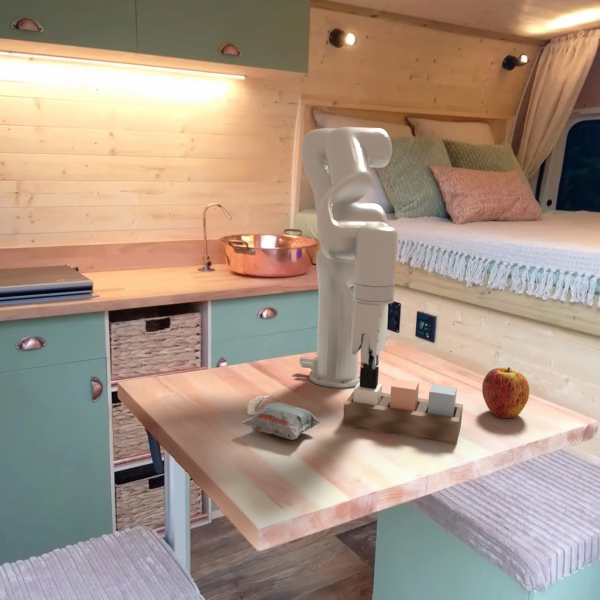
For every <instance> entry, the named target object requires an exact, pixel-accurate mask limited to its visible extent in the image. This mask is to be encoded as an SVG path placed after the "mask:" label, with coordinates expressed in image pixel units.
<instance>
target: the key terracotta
mask: <svg viewBox="0 0 600 600" xmlns="http://www.w3.org/2000/svg"><path fill="white" fill-rule="evenodd" d="M419 387H420V382H419V381H415V380H414V381H413V380H407V379H400V378H395V379H394V380H393V382H392V384H391V386H390V394H391V395H390V407H391V408H397V409H404V410H410V411H416V409H417V403H418V398H419V391H420V390H419Z"/></svg>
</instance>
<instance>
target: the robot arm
mask: <svg viewBox="0 0 600 600" xmlns="http://www.w3.org/2000/svg"><path fill="white" fill-rule="evenodd" d="M392 154H393V145H392V140H391V137H390V135H389V134H388V132H387V131H386V130H385V129H382V128H379V127H361V126H359V127H358V126H342V127H336V128H334V127H325V128H324V127H323V128H322V127H321V128H315V129H312V130H309V131H307V132H306V133H305V134H304V136H303V138H302V142H301V160H302V166H303V169H304V172H305V176H306V179H307V180H308V183H309V184H310V187H311V190H312V192H313V197H314V207H315V214H316V227H317V233H318V240H319V241H318V242H319V245H320V249H318V252H317V253H316V257H315V266H316V267H315V268H316V275H317V286H318V287H317V288H318V309H317V311H318V314H317V315H318V317H317V337H316V338H317V341H316V342H317V343H316V357H315V356H314V357H313V358H311V357H307V356H300V357H299V365H300V367H301V368H305V369H310V371H309V380H310V381H311V382H312V383H313V384H316V385H319V386H322V387H326V388H327V387H328V388H336V389H337V388H338V389H343V388H344V389H346V388H353V387H356V385H357V384H358V383H359V381H360V387H364V388H371V389H376V387H377V386H378V384H379V370H380V367H379V365H380V363H379V362H380V353H381V351H383V349H384V347H385V346H386V343H387V334H388V321H389V320H388V316H389V304H393V303H394V302H395V301H394V299H395V288H396V287H395V286H396V285H395V282H396V267H397V254H398V253H397V252H398V251H397V250H398V231H397V230H396V229H395V227H392V226H390V225H389V222H388V218H387V214H386V211H385V210H384V208H383V207H382V206H381V205H380V204H377V203H373V202H358V201H361V200H362V199H365V198H366V196H368V194H370V192H371V191H372V189H373V185H374V179H373V176H372V172H371V168H375V169H377V168H378V169H379V168H380V169H381V168H386V166H387V165H388V164H389V163H390V161H391V158H392V156H393V155H392ZM351 287H353V292H352V290H351ZM359 352H360V369H359V368H358V367H359V366H358V365H359ZM358 369H359V370H358Z"/></svg>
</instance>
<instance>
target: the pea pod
mask: <svg viewBox="0 0 600 600" xmlns="http://www.w3.org/2000/svg"><path fill="white" fill-rule="evenodd" d="M268 397H271V395H269V394H268V395H262V396H261V395H257V396H256V397H253V398H252V399H251V400H250V401H249V402H247V406H246V409H247V411H246V412H247V415H249V416H253V415H254V414H255V413H256V412H257V411H259V409H257V411H256V407H258V408H260V406H261V405H262V403H263V398H264V400H266V399H267V398H268ZM260 402H261V403H260ZM258 404H259V406H258Z"/></svg>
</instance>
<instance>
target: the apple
mask: <svg viewBox="0 0 600 600" xmlns="http://www.w3.org/2000/svg"><path fill="white" fill-rule="evenodd" d="M481 390H482V391H481V392H482V398H483V400H484V403H485V404H486V406H487V408H488V410H489V411H490V412H491V413H492V414H493V415H495V416H496V417H498V418H501V419H513V418H516V417H517V416H519V415H520V414H521V413H522V411H523V410H524V408H525V407H526V405H527V404H528V403H527V402H528V400H529V397H530V385H529V381H528V380H527V377H525V375H524V374H522V373H521V372H520V371H518V370H516V369H513V368H511V367H495V368H493V369H491V370H489V371H488V372H487V373H486V375H485V377H484V378H483V381H482V386H481Z"/></svg>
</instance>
